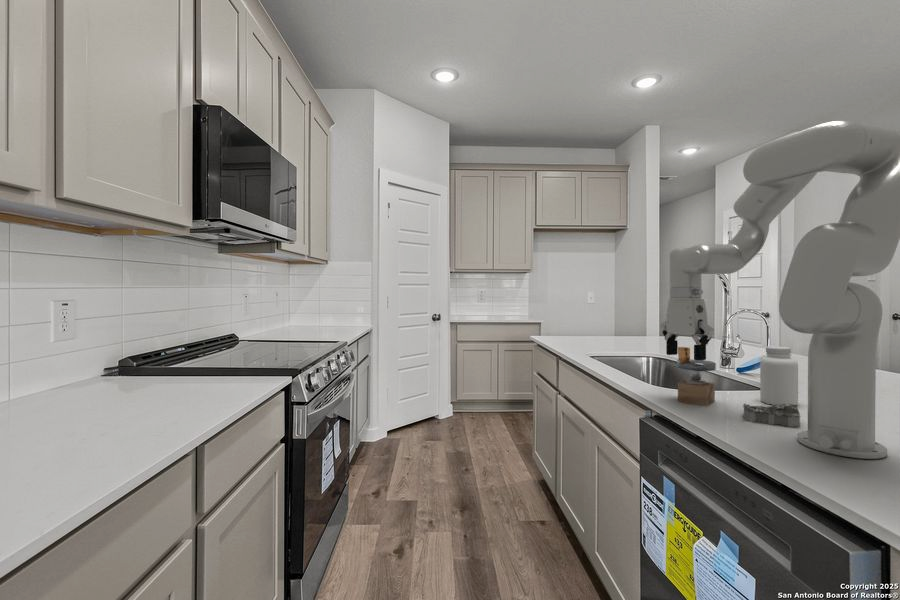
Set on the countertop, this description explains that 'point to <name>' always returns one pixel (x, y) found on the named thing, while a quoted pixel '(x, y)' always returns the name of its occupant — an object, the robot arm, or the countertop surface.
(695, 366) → the grey knobbed disc
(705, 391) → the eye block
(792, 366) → the pill bottle
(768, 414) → the egg carton
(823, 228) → the robot arm
